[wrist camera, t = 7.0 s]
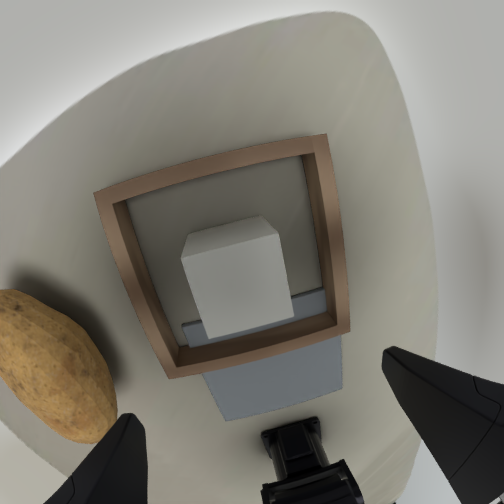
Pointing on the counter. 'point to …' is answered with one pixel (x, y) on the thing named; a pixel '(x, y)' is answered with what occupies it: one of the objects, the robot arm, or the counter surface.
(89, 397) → the potato
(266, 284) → the white cube
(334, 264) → the bin
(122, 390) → the counter surface
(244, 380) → the mat
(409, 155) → the counter surface
